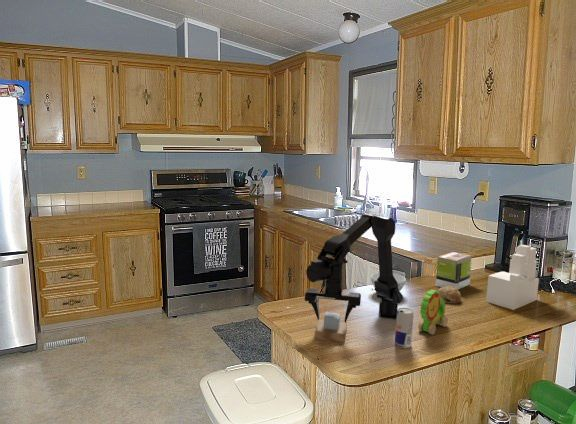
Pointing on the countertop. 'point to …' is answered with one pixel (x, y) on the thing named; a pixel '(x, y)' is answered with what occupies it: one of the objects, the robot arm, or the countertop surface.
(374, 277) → the chinaware
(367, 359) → the countertop surface
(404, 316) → the energy drink
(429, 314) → the toy lion
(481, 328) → the countertop surface
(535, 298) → the building blocks
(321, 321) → the base block
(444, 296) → the bread roll
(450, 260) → the tea box
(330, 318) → the blue-grey squarish block
